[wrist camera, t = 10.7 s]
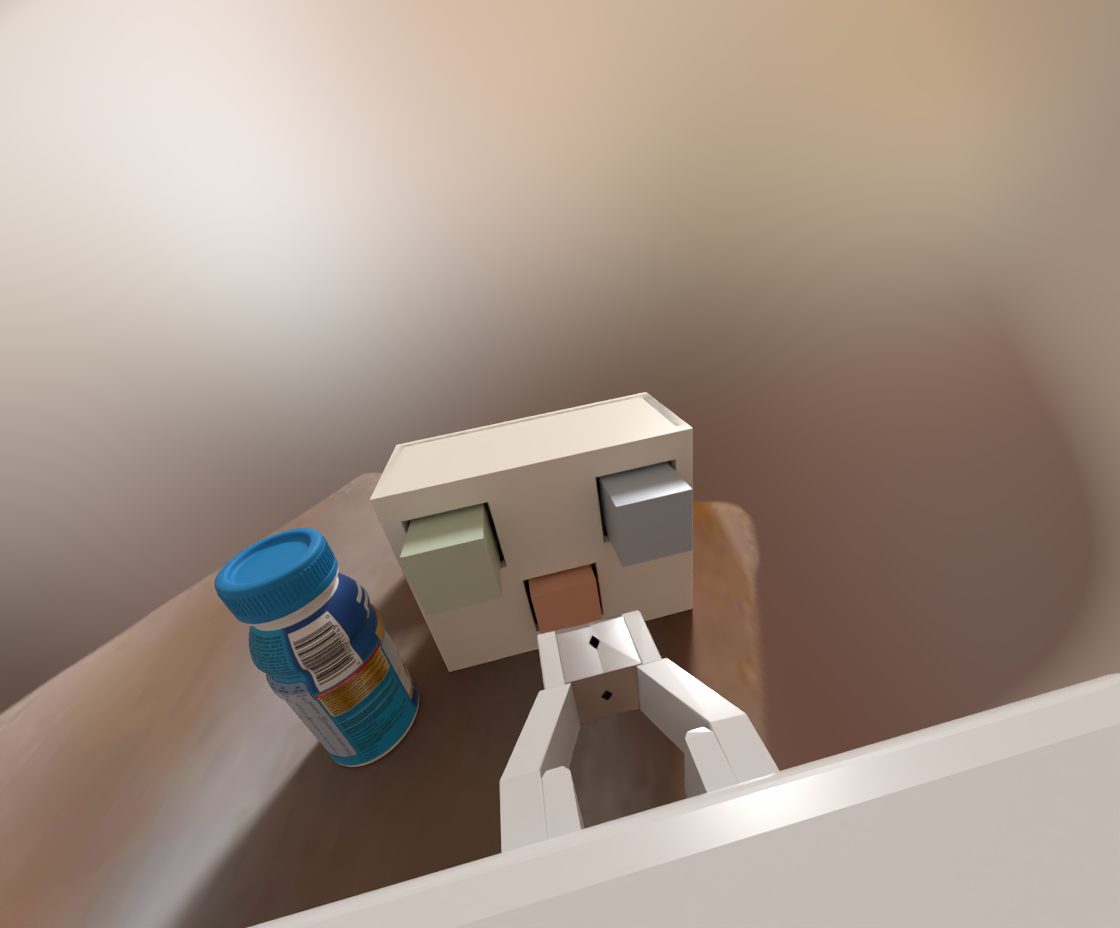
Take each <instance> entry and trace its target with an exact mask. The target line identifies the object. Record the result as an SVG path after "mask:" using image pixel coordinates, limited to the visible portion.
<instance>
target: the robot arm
mask: <svg viewBox="0 0 1120 928" xmlns="http://www.w3.org/2000/svg"><path fill="white" fill-rule="evenodd" d="M555 633H556V634H555ZM537 641H538V648H539V655H540V662H541V669H542V676H543V684H544V690H541V691H539V693H538V695H537V697H536V699H535V702H534V704H533V706H532V709H531V711H530V713H529V716H528V718H527V720H526V722H525V725H524V727H523V729H522V732H521V734H520V736H519V738H518V741H517V743H516V745H515V748H514V750H513V752H512V754H511V757H510V759H509V761H508V764H507V766H506V768H505V770H504V773H503V775H502V777H501V780H500V815H501V853H499V854H496V855H493V856H489V857H486V858H482V859H479V860H476V861H472V862H469V863H465V864H462V865H459V866H455V867H452V868H448V869H445V870H441V871H438V872H435V873H431V874H428V875H424V876H421V877H418V878H414V879H411V880H407V881H404V882H401V883H397V884H394V885H390V886H387V887H384V888H380V889H377V890H373V891H370V892H367V893H363V894H360V895H356V896H353V897H350V898H346V899H343V900H339V901H336V902H333V903H329V904H326V905H322V906H319V907H316V908H312V909H309V910H305V911H302V912H298V913H295V914H292V915H288V916H285V917H281V918H278V919H275V920H271V921H268V922H264V923H261V924H258V925H254V926H251V927H247V928H1120V673H1116V674H1110V675H1106V676H1102V677H1100V678H1096V679H1093V680H1089V681H1086V682H1083V683H1079V684H1076V685H1073V686H1069V687H1066V688H1062V689H1059V690H1055V691H1052V692H1049V693H1045V694H1042V695H1038V696H1035V697H1031V698H1028V699H1025V700H1022V701H1018V702H1014V703H1011V704H1008V705H1005V706H1001V707H997V708H994V709H991V710H987V711H984V712H980V713H977V714H974V715H970V716H967V717H963V718H960V719H956V720H953V721H950V722H946V723H943V724H939V725H936V726H933V727H929V728H926V729H923V730H919V731H916V732H913V733H909V734H905V735H902V736H898V737H895V738H892V739H888V740H885V741H881V742H878V743H875V744H872V745H868V746H864V747H861V748H858V749H854V750H851V751H847V752H844V753H841V754H837V755H834V756H830V757H827V758H824V759H820V760H817V761H813V762H810V763H806V764H803V765H800V766H797V767H793V768H790V769H786V770H783V771H779V769H778V768H777V766H776V764H775V763H774V761H773V759H772V758H771V756H770V754H769V752H768V751H767V749H766V747H765V746H764V744H763V742H762V740H761V739H760V737H759V735H758V734H757V732H756V730H755V728H754V727H753V725H752V723H751V722H750V720H749V718H748V717H747V715H746V714H745V713H744V712H743V711H741V710H740V709H738V708H737V707H736V706H734V705H733V704H731V703H730V702H728V701H727V700H726V699H724V698H723V697H721V696H720V695H719V694H717V693H716V692H714V691H713V690H712V689H710V688H709V687H707V686H706V685H705V684H703V683H702V682H700V681H699V680H697V679H696V678H695V677H693V676H692V675H690V674H689V673H688V672H686V671H685V670H683V669H682V668H681V667H679V666H678V665H676V664H675V663H673V662H672V661H671V660H669V659H668V658H664V659H662V658H661V656H660V654H659V652H658V650H657V647H656V645H655V643H654V641H653V639H652V636H651V634H650V632H649V630H648V628H647V625H646V623H645V621H644V619H643V617H642V615H641V613H640V612H639V611H638V610H637V611H633V612H629V613H625V614H622V615H621V614H619V615H615V616H611V617H608V618H604V619H600V620H596V621H592V622H589V623H587V624H583V625H578V626H574V627H569V628H565V629H560V630H556V631H552V632H547V633H543V634H539V635H537ZM636 709H640V710H641V711H642V712H643V713H644V714H645V715H646V716H647V717H648V718H649V719H650V720H651V721H652V722H653V723H654V724H655V725H656V726H657V727H658V728H659V729H660V730H661V731H662V732H663V733H664V734H665V735H666V736H667V737H668V738H669V739H670V740H671V741H672V742H673V743H674V744H675V745H676V746H677V747H678V748H679V749H680V750H681V751H682V752H683V753H684V754H685V793H686V795H687V799H684V800H680V801H677V802H673V803H670V804H666V805H663V806H660V807H656V808H653V809H649V810H646V811H643V812H639V813H636V814H632V815H629V816H625V817H622V818H619V819H615V820H612V821H608V822H605V823H602V824H598V825H595V826H591V827H588V828H585V829H584V823H583V819H582V815H581V811H580V807H579V803H578V799H577V795H576V791H575V787H574V783H573V779H572V776H571V772H570V770H569V767H570V763H571V760H572V756H573V752H574V749H575V745H576V741H577V738H578V734H579V730H580V724H584V723H587V722H590V721H594V720H597V719H600V718H604V717H607V716H610V715H615V714H619V713H623V712H627V711H631V710H636Z"/></svg>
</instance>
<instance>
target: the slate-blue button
mask: <svg viewBox="0 0 1120 928" xmlns="http://www.w3.org/2000/svg"><path fill="white" fill-rule="evenodd" d="M597 482H598V490H599V498H600V505H601V513H602V520H603V526H604V528H605V530H606V532H607V534H608V537H609V539H610V541H611V543H612V545H613V547H614V550H615V552H616V554H617V556H618V558H619V560H620V563H621V565H622V567H626V566H631V565H635V564H639V563H643V562H647V561H651V560H655V559H659V558H663V557H667V556H671V555H675V554H679V553H683V552H687V551H691V550H692V488H691V487H690V486H689V485H688V484H687V483H686V482H685V481H684V480H683V479H682V477H681V476H680V475H679V474H678V473H677V472H676V471H675V470H674V469H673V468H672V467H671V466H670V465H669V464H668V463H667V461H665V462H661V463H657V464H652V465H648V466H644V467H639V468H635V469H630V470H626V471H622V472H617V473H613V474H608V475H604V476H600V477H597Z"/></svg>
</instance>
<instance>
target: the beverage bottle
mask: <svg viewBox="0 0 1120 928" xmlns="http://www.w3.org/2000/svg"><path fill="white" fill-rule="evenodd" d="M338 572H339V568H338V562H337V560H336V558H335V556H334V554H333V552H332V550H331V548H330V546H329V545H328V543H327V541H326V539H325V538H324V536H322V535H321V533H320V532H318V531H317V530H314V529H311V528H297V529H291V530H287V531H283V532H280V533H277V534H274V535H272V536H269V537H267V538H265V539H262V540H260V541H258V542H257V543H255V544H253V545H251V546H249V547H248V548H246V549H245V550H243V551H241V552H240V553H239V554H237V555H236V556H235V557H233V558H232V559H231V560H230V561H229V562H228V563H227V564H225V566H224V567H223V568H222V569H221V570H220V572H219V573H218V575H217V577H216V579H215V589H216V591H217V594H218V596H219V597H220V598H221V600H222V601H223V602H224V604H225V605H226V606H227V607H228V609H229V610H230V611H231V612H232V613H233V615H234V616H235V617H236V618H237V619H238V620H239V621H241V622H243V623H244V624H246V625H249V626H250V631H249V648H250V653H251V657H252V660H253V662H254V664H255V665H256V667H257V668H258V669H259V670H261V671H262V672H265V673H266V677H267V681H268V683H269V685H270V687H271V688H272V690H273V691H274V692H275V694H276V695H277V696H279V697H280V698H281V699H283V700H285V701H286V702H287V703H288V705H289V706H290V707H291V708H292V709H293V711H294V712H295V713H296V714H297V715H298V716H299V718H300V719H301V720H302V721H303V722H304V724H305V725H306V726H307V727H308V728H309V730H310V731H311V732H312V733H313V734H314V736H315V737H316V738H317V739H318V740H319V741H320V743H321V744H322V745H323V746H324V748H325V750H326V751H327V753H328V754H329V755H330V757H331V758H332V759H333V760H334V761H335V762H337V763H338V764H340V765H343V766H347V767H358V766H363V765H367V764H369V763H372V762H374V761H376V760H378V759H380V758H382V757H383V756H385V755H386V754H387V753H389V752H390V751H391V750H392V749H393V748H395V747H396V746H397V745H398V744H399V743H400V741H401V740H402V739H403V738H404V737H405V735H406V734H407V732H408V731H409V729H410V728H411V726H412V724H413V722H414V720H415V717H416V715H417V711H418V707H419V692H418V688H417V686H416V684H415V682H414V680H413V679H412V677H411V676H410V674H409V672H408V670H407V668H406V666H405V665H404V663H403V661H402V659H401V657H400V655H399V653H398V651H397V649H396V647H395V645H394V644H393V642H392V640H391V638H390V636H389V634H388V632H387V630H386V628H385V625H384V621H383V618H382V616H381V614H380V613H379V611H378V610H377V609H376V607H375V606H373V605H372V604H371V603H370V601H369V596H368V594H367V592H366V590H365V589H364V588H363V587H362V586H361V585H360V584H359V583H357V582H356V581H355V580H353V579H351V578H349V577H347V576H345V575H343V574H340V573H338Z"/></svg>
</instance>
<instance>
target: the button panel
mask: <svg viewBox="0 0 1120 928" xmlns="http://www.w3.org/2000/svg"><path fill="white" fill-rule="evenodd" d="M665 461H667V463H668V464H669V465H670V466H671V467H672V468H673V469H674V470H675V471H676V472H677V473H678V474H679V475H680V476H681V477H682V479H683V480H684V481H685V482H686V483H687V484H688V485H689V486H690V487H691V488H692V550H691V551H687V552H683V553H679V554H675V555H671V556H667V557H663V558H659V559H655V560H651V561H647V562H643V563H639V564H635V565H631V566H626V567H622V565H621V563H620V560H619V558H618V556H617V554H616V552H615V550H614V547H613V545H612V543H611V541H610V539H609V537H608V534H607V532H606V530H605V528H604V526H603V520H602V513H601V505H600V498H599V490H598V482H597V477H600V476H604V475H608V474H613V473H617V472H622V471H626V470H630V469H635V468H639V467H644V466H648V465H652V464H657V463H661V462H665ZM370 502H371V504H372V506H373V508H374V510H375V512H376V515H377V517H378V519H379V521H380V523H381V525H382V528H383V530H384V532H385V534H386V536H387V538H388V541H389V543H390V545H391V547H392V549H393V551H394V554H395V556H396V558H397V560H398V562H399V564H400V567H401V569H402V571H403V573H404V575H405V577H406V580H407V582H408V584H409V586H410V588H411V591H412V593H413V595H414V597H415V599H416V601H417V604H418V606H419V608H420V610H421V612H422V614H423V617H424V619H425V621H426V623H427V625H428V627H429V630H430V632H431V634H432V636H433V638H434V640H435V643H436V645H437V647H438V649H439V651H440V653H441V656H442V658H443V660H444V662H445V664H446V667H447V669H448V671H449V672H452V671H456V670H459V669H463V668H467V667H471V666H475V665H479V664H482V663H486V662H490V661H494V660H498V659H502V658H505V657H509V656H513V655H517V654H521V653H525V652H528V651H532V650H536V649H539V648H538V641H537V635H539V634H541V633H540V629H539V626H538V623H537V624H535V621H534V617H533V613H532V610H531V606H530V602H529V599H528V595H527V591H526V588H525V584H529V581H528V579H531V578H535V577H539V576H543V575H547V574H551V573H555V572H559V571H563V570H568V569H572V568H576V567H580V566H584V565H588V564H590V565H591V568H594V567H595V569H596V575H597V582H598V588H599V595H600V601H601V607H600V609H601V615H602V619H604V618H608V617H611V616H615V615H619V614H621V615H622V614H625V613H629V612H633V611H637V610H638V611H639V612H640V613H641V615H642V617H643V619H644V621H647V620H651V619H655V618H659V617H663V616H667V615H671V614H674V613H678V612H682V611H686V610H690V609H693V428H692V427H690V426H689V425H688V424H687V423H685V422H684V421H683V420H681V419H680V418H679V417H678V416H676V415H675V414H674V413H672V412H671V411H670V410H668V409H667V408H666V407H664V406H663V405H662V404H661V403H659V402H658V401H657V400H656V399H654V398H653V397H652V396H650V395H649V394H648V393H646V392H645V393H640V394H635V395H630V396H625V397H621V398H616V399H611V400H606V401H602V402H597V403H592V404H588V405H583V406H578V407H574V408H569V409H564V410H559V411H555V412H550V413H545V414H541V415H536V416H531V417H527V418H522V419H517V420H512V421H508V422H503V423H498V424H493V425H489V426H484V427H479V428H474V429H470V430H465V431H460V432H456V433H451V434H446V435H442V436H437V437H432V438H428V439H423V440H419V441H413V442H409V443H404V444H399V445H396V447H395V449H394V451H393V454H392V456H391V458H390V460H389V462H388V464H387V466H386V468H385V470H384V472H383V474H382V476H381V478H380V480H379V482H378V484H377V486H376V488H375V490H374V492H373V494H372V496H371V498H370ZM481 503H486V506H487V510H488V513H489V517H490V520H491V523H492V527H493V530H494V533H495V537H496V540H497V543H498V547H499V553H500V571H501V589H502V597H501V598H497V599H493V600H489V601H485V602H481V603H477V604H473V605H469V606H465V607H461V608H457V609H453V610H449V611H445V612H441V613H437V614H433V615H429V616H426V614H425V612H424V610H423V607H422V605H421V603H420V601H419V599H418V596H417V594H416V592H415V590H414V588H413V585H412V583H411V581H410V579H409V577H408V574H407V572H406V570H405V568H404V566H403V563H402V561H401V559H400V556H401V552H402V549H403V546H404V542H405V539H406V535H407V532H408V528H409V525H410V521H411V519H415V518H420V517H424V516H428V515H433V514H437V513H442V512H446V511H450V510H455V509H459V508H464V507H468V506H472V505H477V504H481Z"/></svg>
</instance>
